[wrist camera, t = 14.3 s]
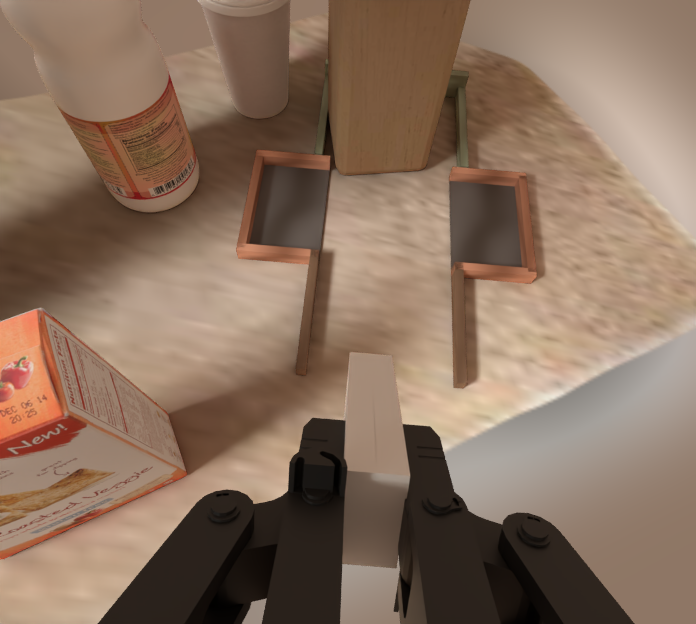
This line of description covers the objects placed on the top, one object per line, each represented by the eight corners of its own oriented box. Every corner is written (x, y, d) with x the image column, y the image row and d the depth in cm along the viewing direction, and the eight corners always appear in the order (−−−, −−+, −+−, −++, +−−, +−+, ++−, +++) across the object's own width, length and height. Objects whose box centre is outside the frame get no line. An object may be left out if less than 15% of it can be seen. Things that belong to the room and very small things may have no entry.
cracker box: (5, 565, 35) (-358, 590, 17) (-8, 486, 38) (-340, 428, 19) (193, 480, 39) (66, 418, 20) (170, 411, 41) (37, 296, 22)
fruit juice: (97, 210, 49) (-144, -143, 24) (124, 140, 53) (-56, -224, 28) (190, 220, 49) (46, -124, 24) (210, 149, 53) (106, -207, 28)
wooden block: (411, 107, 57) (451, -94, 39) (427, 173, 53) (480, -18, 35) (327, 112, 56) (327, -92, 38) (336, 179, 52) (342, -14, 34)
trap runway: (216, 367, 43) (209, 355, 40) (275, 76, 58) (272, 54, 56) (542, 395, 43) (556, 385, 40) (512, 97, 59) (521, 76, 56)
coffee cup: (294, 66, 59) (285, -75, 46) (308, 123, 55) (302, -13, 42) (215, 74, 58) (181, -68, 45) (223, 133, 54) (189, -3, 41)
